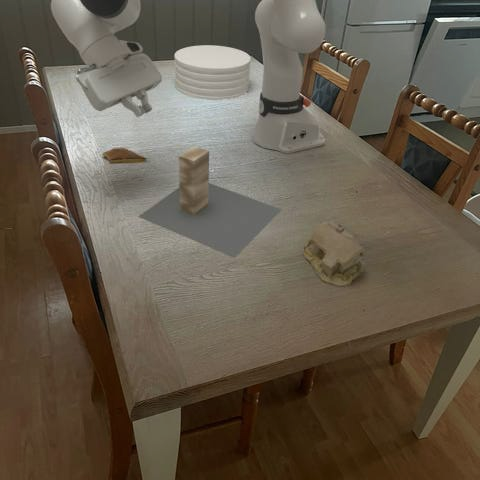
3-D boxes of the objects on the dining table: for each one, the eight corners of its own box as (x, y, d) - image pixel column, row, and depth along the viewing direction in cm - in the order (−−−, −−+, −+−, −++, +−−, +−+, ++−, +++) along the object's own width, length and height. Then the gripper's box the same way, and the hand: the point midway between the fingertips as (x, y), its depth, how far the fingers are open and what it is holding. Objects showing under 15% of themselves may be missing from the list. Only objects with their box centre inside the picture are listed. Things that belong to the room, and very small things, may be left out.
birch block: (180, 209, 110) (178, 155, 101) (194, 197, 114) (194, 146, 106) (194, 214, 109) (193, 161, 100) (208, 203, 113) (209, 150, 104)
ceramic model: (374, 273, 97) (386, 234, 91) (335, 292, 91) (345, 253, 85) (327, 237, 105) (335, 200, 99) (289, 253, 100) (295, 215, 94)
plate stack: (248, 102, 168) (250, 70, 161) (170, 98, 167) (169, 65, 160) (248, 76, 190) (250, 47, 183) (179, 72, 189) (179, 43, 182)
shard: (147, 163, 129) (147, 157, 128) (126, 173, 124) (126, 167, 123) (120, 150, 134) (120, 145, 133) (99, 160, 129) (98, 154, 128)
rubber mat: (138, 218, 107) (138, 216, 107) (193, 179, 122) (193, 177, 122) (234, 259, 97) (234, 257, 97) (281, 211, 113) (281, 209, 112)
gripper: (77, 62, 92) (120, 121, 95) (144, 41, 107) (179, 93, 109) (65, 80, 97) (106, 135, 99) (130, 57, 111) (165, 106, 113)
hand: (145, 113), depth 104 cm, fingers closed
